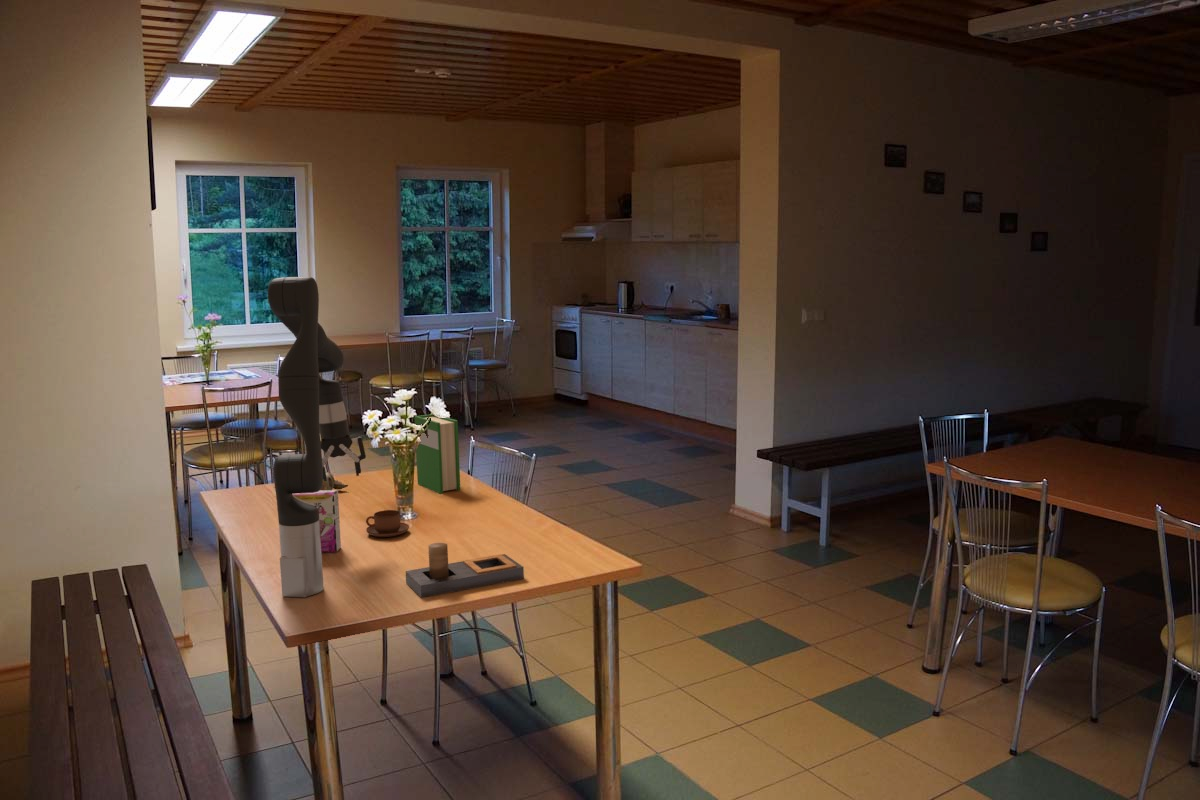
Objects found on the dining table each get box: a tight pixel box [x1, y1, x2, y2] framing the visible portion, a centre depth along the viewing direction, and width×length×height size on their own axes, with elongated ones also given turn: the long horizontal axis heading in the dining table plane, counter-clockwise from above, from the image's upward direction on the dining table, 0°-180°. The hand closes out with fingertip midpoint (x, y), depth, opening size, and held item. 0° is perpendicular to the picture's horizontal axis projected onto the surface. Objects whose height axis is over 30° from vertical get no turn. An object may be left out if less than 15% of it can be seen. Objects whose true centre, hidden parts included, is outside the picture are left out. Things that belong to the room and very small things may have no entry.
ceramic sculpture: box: [320, 471, 349, 491], centre depth 328 cm, size 11×9×15 cm
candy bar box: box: [293, 489, 342, 554], centre depth 262 cm, size 11×5×16 cm, turn 92°
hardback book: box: [414, 413, 461, 495], centre depth 330 cm, size 18×7×24 cm, turn 36°
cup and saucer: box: [365, 509, 410, 538], centre depth 278 cm, size 12×12×6 cm
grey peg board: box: [405, 553, 525, 599], centre depth 236 cm, size 26×12×3 cm, turn 118°
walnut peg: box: [427, 542, 449, 580], centre depth 233 cm, size 4×4×10 cm
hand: (341, 478), depth 263 cm, fingers open, 8 cm apart
